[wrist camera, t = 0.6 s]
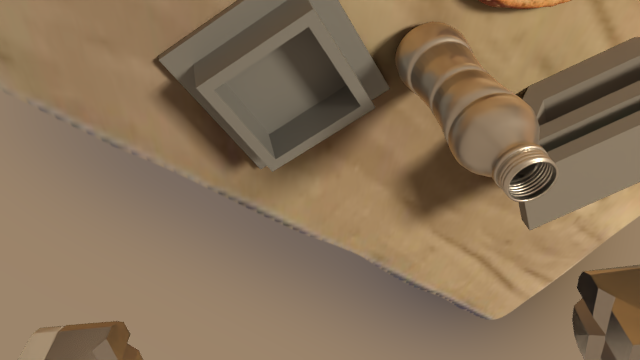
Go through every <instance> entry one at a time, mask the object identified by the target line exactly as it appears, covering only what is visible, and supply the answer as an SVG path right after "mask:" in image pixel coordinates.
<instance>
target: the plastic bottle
mask: <svg viewBox="0 0 640 360" xmlns="http://www.w3.org/2000/svg"><path fill="white" fill-rule="evenodd" d="M395 63H396V67H397V70H398V74H399V76H400V78H401V80H402V82H403V83H404V84H405V85H406V86H407V87H408V88H409V89H410V90H411V91H412V92H414V93H415V94H417V95H418V96H419V97H420V98H421V99H422V100H423V101H424V102H425V103H426V105H427V106H428V107H429V108H430V109H431V111H432V113H433V114H434V116H435V118H436V119H437V121H438V123H439V125H440V126H441V128H442V131H443V133H444V136H445V138H446V141H447V143H448V145H449V148H450V150H451V152H452V154H453V156H454V158H455V159H456V161H457V162H458V163H459V164H460V165H461V166H463V167H464V168H466V169H467V170H469V171H471V172H472V173H475V174H478V175H483V176H487V177H492V178H493V180H494V182H495V183H496V184H497V185H498V186H499V187H500V188H501V189H502V190H503V191H504V192H505V194H506V195H507V196H508V197H509V198H510V199H512V200H513V201H517V202H527V201H531V200H534V199H537V198H539V197H541V196H542V195H544V194H545V193H546V192H548V191H549V190H550V189H551V188H552V187H553V185H554V184H555V182H556V180H557V178H558V168H557V166H556V164H555V163H554V162H553V161H552V160H551V158H550V157H549V156H548V153H547V152H546V151H545V150H544V149H543V148H542V147H541V146H540V145H539V135H540V129H539V123H538V120H537V117H536V115H535V112H534V110H533V109H532V108H531V106H529V105H528V104H527V103H526V102H525V101H524V100H522V99H521V98H520V97H518V96H517V95H515V94H514V93H513V92H511V91H510V90H508V89H507V88H505V87H504V86H502V85H501V84H500V83H499V82H497V81H496V80H495V79H494V78H493V77H492V76H491V75H490V74H489V73H488V72H487V71H485V70H484V69H483V67H482V66H481V64H480V63H479V62H478V60H477V59H476V57H475V56H474V55H473V52H472V50H471V47H470V45H469V44H468V42H467V40H466V39H465V37H464V36H463V35H462V33H460V32H459V31H458V30H456V29H455V28H453V27H451V26H449V25H447V24H445V23H441V22H429V23H424V24H422V25H419V26H417V27H415V28H414V29H412V30H411V31H410V32H408V33H407V34H406V35H405V37H404V38H403V39H402V40H401V42H400V44H399V46H398V48H397V50H396V55H395Z"/></svg>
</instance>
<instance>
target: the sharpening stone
mask: <svg viewBox="0 0 640 360" xmlns="http://www.w3.org/2000/svg"><path fill="white" fill-rule="evenodd" d="M522 100H524V101H525V102H526V103H527V104H528V105H529V106H531V108H532V109H533V110H534V112H535V115H536V117H537V120H538V123H539V129H540V135H539V145H540V146H541V147H542V148H543V149H544V150H545V151H546V152H547V153H548V156H549V157H550V158H551V160H552V161H553V162H554V163H555V164H556V166H557V168H558V178H557V180H556V182H555V184H554V185H553V187H552V188H551V189H550V190H549V191H548V192H546V193H545V194H544V195H542V196H541V197H539V198H537V199H534V200H531V201H527V202H519V207H520V212H521V217H522V221H523V222H524V223H525V225H526V226H527V227H528V229H529V230H532V229H534V228H537V227H539V226H541V225H543V224H546V223H548V222H550V221H552V220H555V219H557V218H559V217H562V216H564V215H566V214H568V213H571V212H573V211H575V210H577V209H580V208H582V207H584V206H587V205H589V204H591V203H593V202H596V201H598V200H600V199H603V198H605V197H607V196H609V195H612V194H614V193H616V192H618V191H621V190H623V189H625V188H628V187H630V186H632V185H634V184H637V183H639V182H640V37H634V38H632V39H630V40H627V41H625V42H623V43H621V44H619V45H617V46H614V47H612V48H610V49H608V50H606V51H604V52H602V53H599V54H597V55H595V56H593V57H591V58H589V59H586V60H584V61H582V62H580V63H578V64H576V65H573V66H571V67H569V68H567V69H565V70H563V71H561V72H558V73H556V74H554V75H552V76H550V77H548V78H545V79H543V80H541V81H539V82H537V83H535V84H532V85H530V86H529V87H528V89H527V91H526V93H525V95H524V97H523V99H522Z"/></svg>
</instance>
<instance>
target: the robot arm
mask: <svg viewBox="0 0 640 360" xmlns="http://www.w3.org/2000/svg"><path fill="white" fill-rule="evenodd" d="M577 289H578V291H579V293H580V294H581V296H582V299H581V300H580V301H579V302H578V303H577V304H575V305H574V309H573V318H572V322H573V329H574V336H575V339H576V342H577V345H578V348H579V350H580V352H581V354H582V356H583V358H584V360H640V265H633V266H625V267H616V268H608V269H599V270H592V271H591V270H590V271H583V272H582V273H581V275H580V276H579V279H578V284H577ZM129 337H130V332H129V331H128V329H127V327H126V325H125V324H124V322H119V321H113V322H101V323H88V324H76V325H66V326H57V327H44V328H39V329H38V330H37V331H36V332H34V333H33V334H32V335H31V337H30V339H29V341H28V342H27V344H26V346H25V348H24V350H23V351H22V353H21V355H20V357H19V358H18V360H143V358H142V356H141V355H140V352H139V350H137V349H136V348H134V347H132V346H131V345H129V344H128V343H127V342H128V339H129Z"/></svg>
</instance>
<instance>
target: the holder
mask: <svg viewBox="0 0 640 360" xmlns="http://www.w3.org/2000/svg"><path fill="white" fill-rule="evenodd" d="M159 61H160V62H161V63H162V64H163V65H164V66H165V67H166V69H167V70H168V71H169V72H170V73H171V74H172V75H173V76H174V77H175V78H176V79H177V80H178V81H179V82H180V84H181V85H182V86H183V87H184V88H185V89H186V90H187V91H188V92H189V93H190V94H191V95H192V96H193V97H194V99H195V100H196V101H197V102H198V103H199V104H200V105H201V106H202V107H203V108H204V109H205V110H206V111H207V112H208V114H209V115H210V116H211V117H212V118H213V119H214V120H215V121H216V122H217V123H218V124H219V125H220V126H221V127H222V129H223V130H224V131H225V132H226V133H227V134H228V135H229V136H230V137H231V138H232V139H233V140H234V141H235V142H236V144H237V145H238V146H239V147H240V148H241V149H242V150H243V151H244V152H245V153H246V154H247V155H248V156H249V157H250V159H251V160H252V161H253V162H254V163H255V164H256V165H257V166H258V167H259V168H260V169H262V168H264V167H265V166H268V167H269V169H270V170H271V171H272V172H273V171H275V170H276V169H278V168H279V167H281V166H283V165H284V164H286V163H287V162H289V161H291V160H292V159H294V158H296V157H297V156H299V155H300V154H302V153H304V152H305V151H307V150H308V149H310V148H312V147H313V146H315V145H317V144H318V143H320V142H321V141H323V140H325V139H326V138H328V137H329V136H331V135H333V134H334V133H336V132H337V131H339V130H341V129H342V128H344V127H346V126H347V125H349V124H350V123H352V122H354V121H355V120H357V119H358V118H360V117H362V116H363V115H365V114H367V113H368V112H370V111H371V110H373V109H375V106H374V104H373V102H372V101H371V100H373V99H374V98H376V97H378V96H379V95H381V94H382V93H384V92H386V91H387V90H389V89H390V88H389V86H388V84H387V83H386V81H385V79H384V78H383V76H382V74H381V73H380V71H379V69H378V67H377V66H376V64H375V62H374V61H373V59H372V57H371V55H370V54H369V52H368V50H367V49H366V47H365V45H364V44H363V42H362V40H361V38H360V37H359V35H358V33H357V32H356V30H355V28H354V26H353V25H352V23H351V21H350V20H349V18H348V16H347V15H346V13H345V11H344V9H343V8H342V6H341V4H340V3H339V1H338V0H238V1H236V2H235V3H233V4H232V5H230V6H229V7H228V8H226V9H225V10H223V11H222V12H220V13H219V14H218V15H216V16H215V17H213V18H212V19H210V20H209V21H207V22H206V23H205V24H203V25H202V26H200V27H199V28H197V29H196V30H195V31H193V32H192V33H190V34H189V35H187V36H186V37H185V38H183V39H182V40H180V41H179V42H177V43H176V44H174V45H173V46H172V47H170V48H169V49H167V50H166V51H164V52H163V53H162V54H160V55H159Z"/></svg>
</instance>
